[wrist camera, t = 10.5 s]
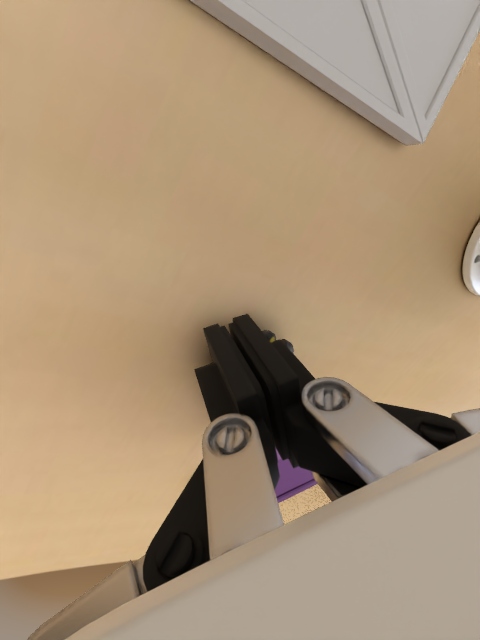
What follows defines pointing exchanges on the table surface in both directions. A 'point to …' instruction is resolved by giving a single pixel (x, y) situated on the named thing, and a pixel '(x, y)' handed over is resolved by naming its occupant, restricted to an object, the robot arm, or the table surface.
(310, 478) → the towel
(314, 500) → the table surface
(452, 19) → the envelope
